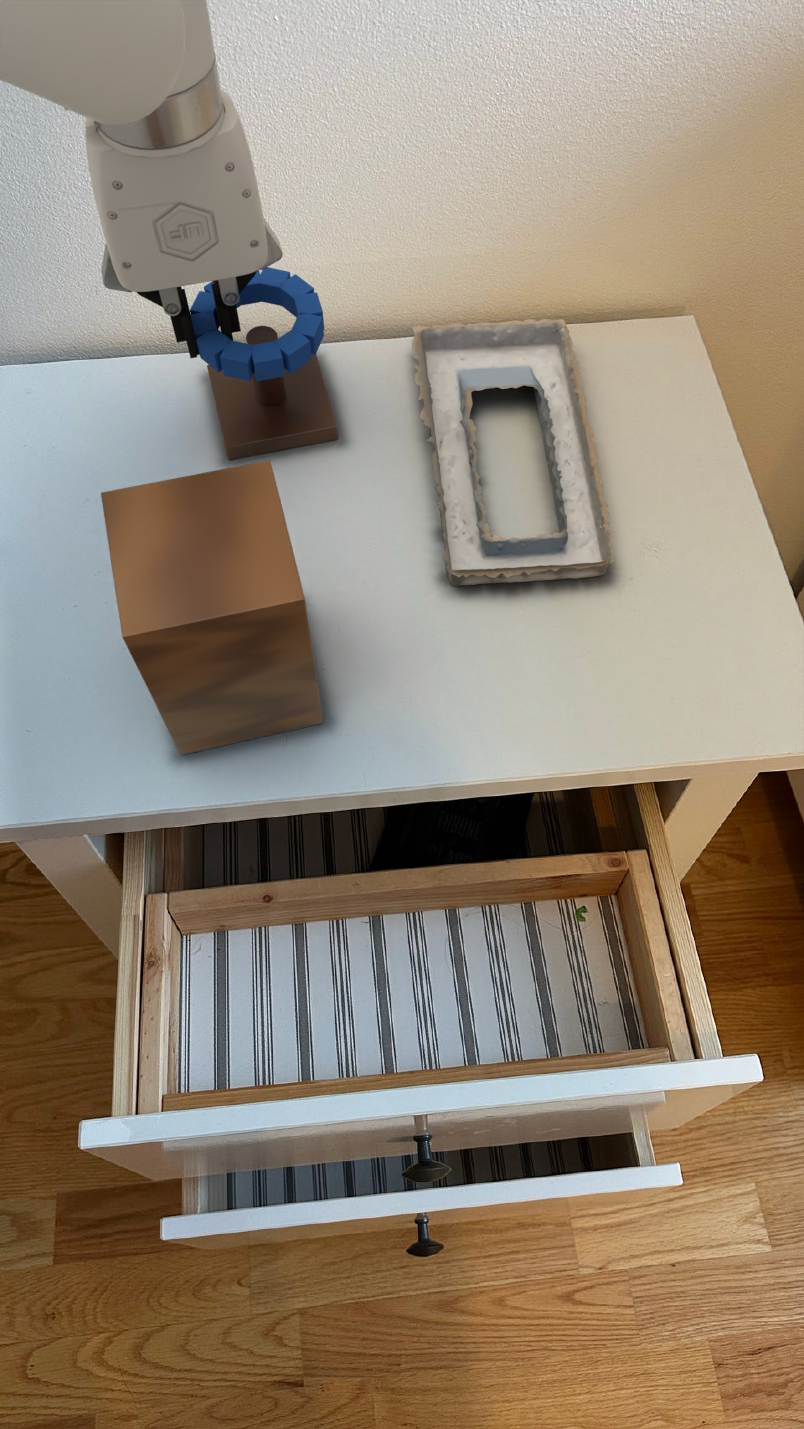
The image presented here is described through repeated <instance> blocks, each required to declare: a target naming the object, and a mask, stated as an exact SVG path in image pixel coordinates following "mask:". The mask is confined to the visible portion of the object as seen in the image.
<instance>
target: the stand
mask: <svg viewBox="0 0 804 1429" xmlns="http://www.w3.org/2000/svg"><path fill="white" fill-rule="evenodd" d="M100 497H101V503H102V510H103V517H104V524H105V530H106V538H107V544H108V551H109V557H110V565H111V571H112V577H113V585H114V592H115V597H116V605H117V612H118V617H119V624H120V631H121V637H122V639H123V641H124V643H125V645H126V647H127V649H128V652H129V653H130V656H131V657H132V659H133V662H134V664H135V666H136V668H137V670H138V672H139V674H140V676H141V678H142V680H143V682H144V684H145V685H146V686H145V687H146V688H147V690H148V692H149V694H150V696H151V698H152V701H153V702H154V704H155V706H156V708H157V710H158V712H159V714H160V716H161V718H162V720H163V723H165V726H166V728H167V730H168V733H169V734H170V736H171V738H172V740H173V742H174V744H175V746H176V749H177V751H178V752H179V755H180V756H182V755H187V754H193V753H197V752H202V751H206V750H210V749H215V748H218V747H224V746H228V745H232V744H237V743H241V742H246V741H250V740H254V739H255V740H256V739H259V738H263V737H269V736H272V735H278V734H281V733H286V732H290V731H295V730H299V729H304V728H309V727H313V726H317V725H321V724H322V725H323V724H324V715H323V708H322V703H321V702H322V701H321V697H320V689H319V683H318V676H317V670H316V669H317V668H316V663H315V655H314V649H313V642H312V637H311V629H310V623H309V616H308V612H307V611H308V609H307V605H306V604H307V603H306V598H305V594H304V590H303V585H302V582H301V578H300V573H299V570H298V569H299V568H298V565H297V561H296V557H295V553H294V550H293V549H294V548H293V545H292V542H291V537H290V534H289V529H288V526H287V525H288V524H287V521H286V517H285V513H284V509H283V505H282V500H281V497H280V492H279V489H278V484H277V481H276V476H275V472H274V468H273V465H272V461H271V460H270V459H269V460H264V461H258V462H253V463H248V464H243V465H238V466H237V465H236V466H232V467H227V468H222V469H217V470H211V471H207V472H202V473H195V474H191V475H185V476H179V477H174V478H169V479H165V480H160V481H154V482H147V483H144V484H139V485H132V486H128V487H123V488H118V489H112V490H107V491H103V492H102V491H101V492H100Z"/></svg>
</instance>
